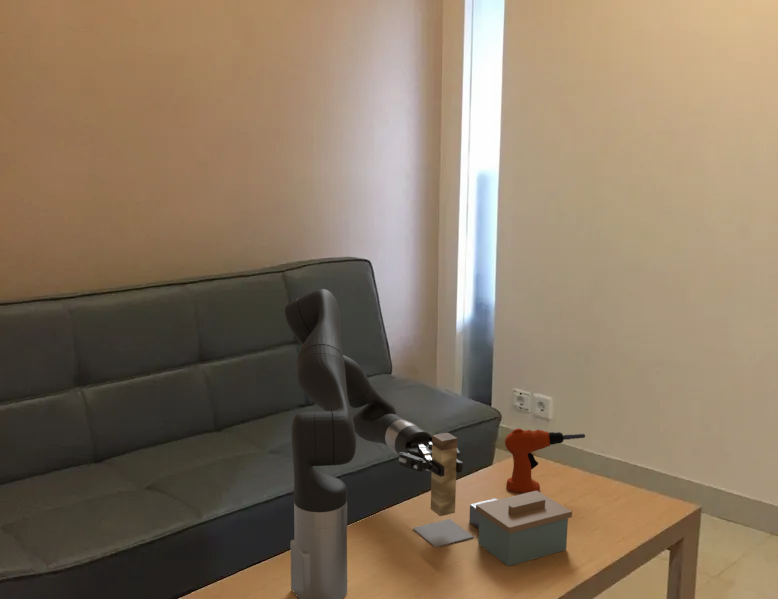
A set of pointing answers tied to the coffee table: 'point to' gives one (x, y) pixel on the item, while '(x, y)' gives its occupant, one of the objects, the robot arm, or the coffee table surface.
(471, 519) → the gray open box
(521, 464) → the toy drill
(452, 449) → the mottled beige block
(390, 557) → the coffee table surface
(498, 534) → the toolbox
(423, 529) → the rubber mat
